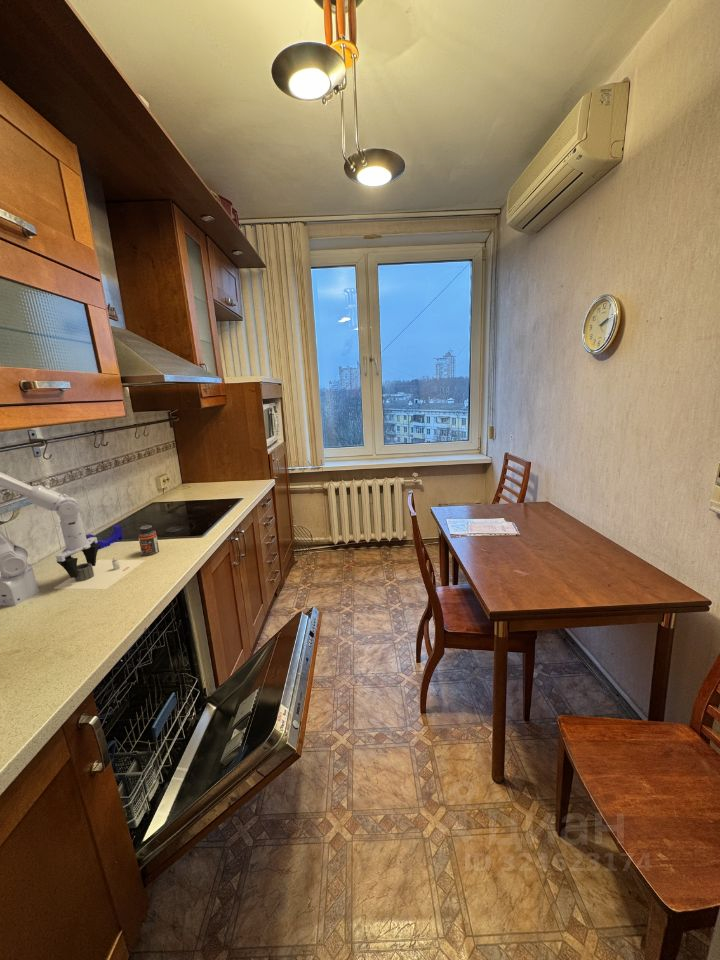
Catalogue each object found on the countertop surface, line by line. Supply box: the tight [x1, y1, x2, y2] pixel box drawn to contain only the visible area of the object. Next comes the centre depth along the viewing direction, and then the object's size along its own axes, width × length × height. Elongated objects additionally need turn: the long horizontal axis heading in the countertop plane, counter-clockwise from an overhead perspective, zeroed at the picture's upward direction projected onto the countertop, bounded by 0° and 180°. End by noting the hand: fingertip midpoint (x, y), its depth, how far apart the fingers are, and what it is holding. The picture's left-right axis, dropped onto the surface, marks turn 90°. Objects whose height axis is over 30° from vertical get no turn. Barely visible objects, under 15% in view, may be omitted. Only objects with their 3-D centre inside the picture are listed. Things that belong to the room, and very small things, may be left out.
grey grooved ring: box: [75, 562, 94, 581], centre depth 126 cm, size 5×5×4 cm
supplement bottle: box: [138, 525, 160, 557], centre depth 143 cm, size 6×6×11 cm
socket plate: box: [53, 557, 146, 590], centre depth 129 cm, size 20×18×5 cm
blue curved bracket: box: [86, 524, 124, 551], centre depth 155 cm, size 12×4×6 cm, turn 150°
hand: (83, 571), depth 126 cm, fingers open, 7 cm apart
